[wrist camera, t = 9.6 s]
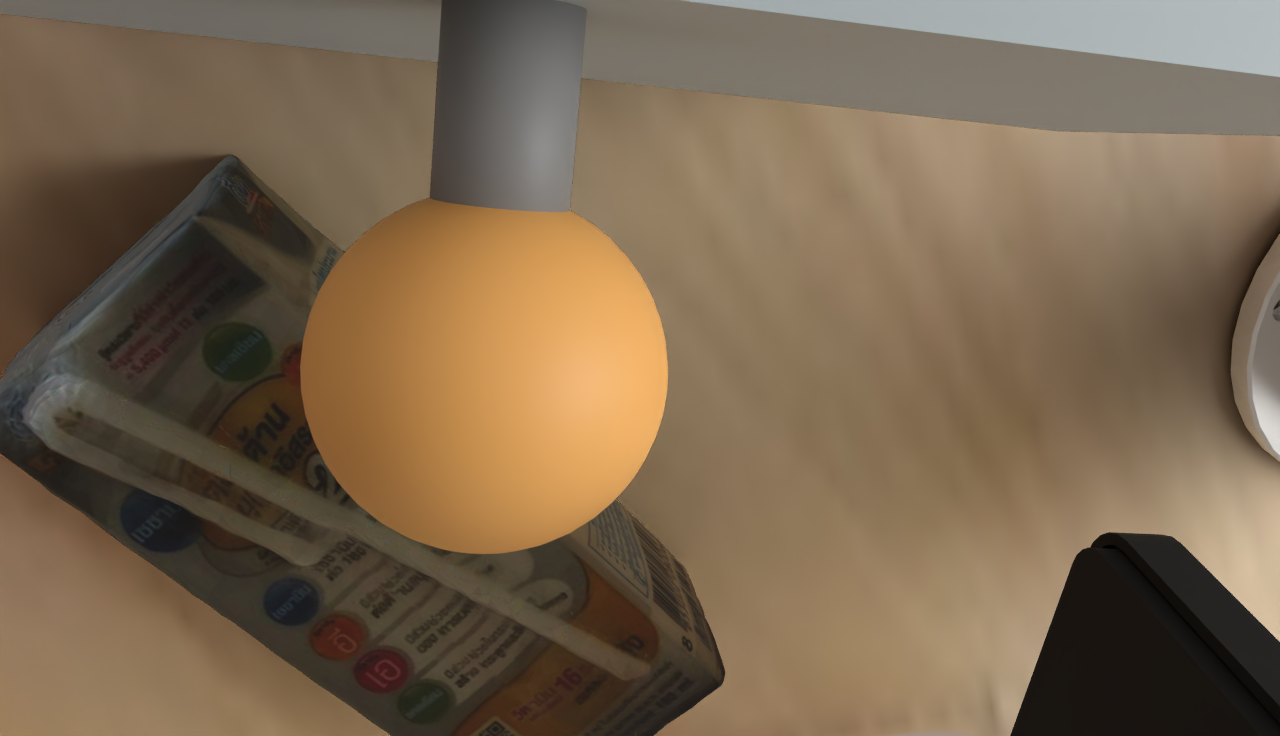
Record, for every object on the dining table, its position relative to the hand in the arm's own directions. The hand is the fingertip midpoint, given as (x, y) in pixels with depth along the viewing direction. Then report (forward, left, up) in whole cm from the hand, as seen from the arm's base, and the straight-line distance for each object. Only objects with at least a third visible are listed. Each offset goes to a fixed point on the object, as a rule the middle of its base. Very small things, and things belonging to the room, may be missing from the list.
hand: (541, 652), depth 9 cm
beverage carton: (+1, +11, -22) cm, 25 cm away
